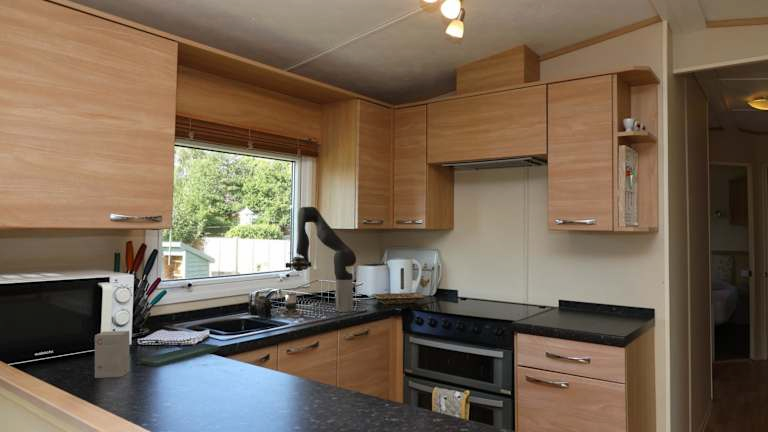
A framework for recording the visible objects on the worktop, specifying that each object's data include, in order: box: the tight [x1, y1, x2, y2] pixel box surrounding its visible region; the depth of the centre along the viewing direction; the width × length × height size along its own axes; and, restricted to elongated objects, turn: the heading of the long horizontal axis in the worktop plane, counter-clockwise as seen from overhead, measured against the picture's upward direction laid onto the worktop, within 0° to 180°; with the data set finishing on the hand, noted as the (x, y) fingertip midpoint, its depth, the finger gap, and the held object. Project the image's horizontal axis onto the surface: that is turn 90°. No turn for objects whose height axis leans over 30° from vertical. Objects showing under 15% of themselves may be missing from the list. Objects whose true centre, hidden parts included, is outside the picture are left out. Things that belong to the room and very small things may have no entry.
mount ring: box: [281, 309, 301, 316], centre depth 270 cm, size 9×9×2 cm
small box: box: [94, 330, 131, 379], centre depth 161 cm, size 8×6×13 cm
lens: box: [284, 293, 297, 312], centre depth 270 cm, size 6×6×10 cm
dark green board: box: [140, 342, 220, 368], centre depth 183 cm, size 26×9×2 cm, turn 149°
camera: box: [249, 295, 272, 320], centre depth 267 cm, size 18×9×10 cm, turn 27°
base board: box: [280, 311, 302, 319], centre depth 270 cm, size 10×10×1 cm
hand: (298, 265), depth 286 cm, fingers open, 8 cm apart
